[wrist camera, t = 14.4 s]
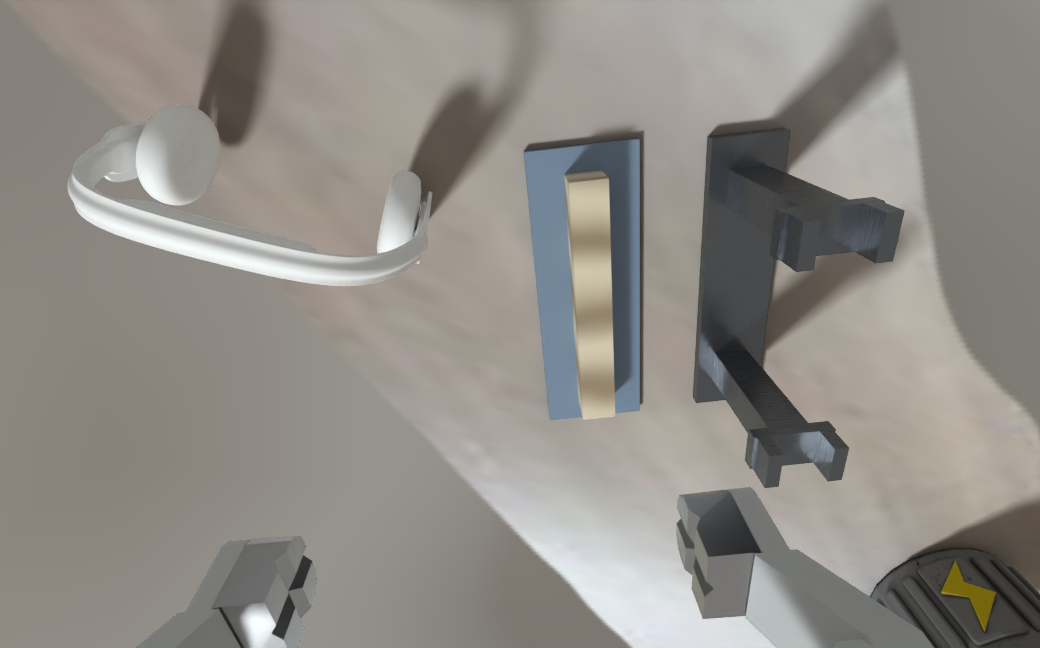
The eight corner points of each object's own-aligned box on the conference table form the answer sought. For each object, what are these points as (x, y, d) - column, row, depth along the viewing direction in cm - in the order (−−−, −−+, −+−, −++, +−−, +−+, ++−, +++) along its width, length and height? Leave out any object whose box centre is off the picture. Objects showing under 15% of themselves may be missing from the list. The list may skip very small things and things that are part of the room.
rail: (564, 174, 42) (568, 182, 39) (601, 170, 42) (609, 178, 39) (578, 400, 52) (583, 419, 49) (609, 397, 52) (615, 416, 49)
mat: (523, 151, 42) (523, 152, 41) (637, 138, 42) (639, 139, 41) (549, 416, 54) (550, 420, 53) (638, 406, 53) (639, 410, 53)
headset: (450, 169, 42) (422, 241, 26) (430, 250, 45) (394, 358, 29) (183, 87, 39) (-33, 113, 23) (181, 181, 42) (-12, 261, 26)
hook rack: (707, 136, 42) (806, 177, 28) (783, 127, 42) (919, 164, 28) (692, 397, 53) (758, 512, 40) (752, 390, 53) (838, 504, 40)
